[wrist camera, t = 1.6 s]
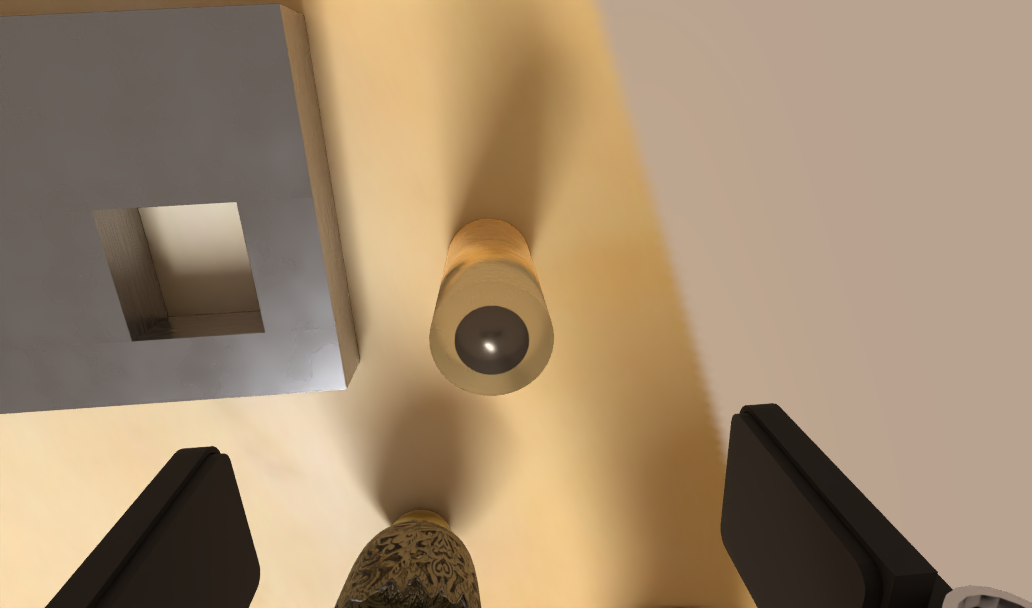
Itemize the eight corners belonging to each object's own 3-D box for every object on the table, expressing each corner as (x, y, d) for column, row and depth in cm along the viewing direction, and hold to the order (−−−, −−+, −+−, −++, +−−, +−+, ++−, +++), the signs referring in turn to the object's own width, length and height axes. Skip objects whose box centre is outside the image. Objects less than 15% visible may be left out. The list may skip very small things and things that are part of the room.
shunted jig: (359, 361, 29) (335, 411, 24) (-41, 389, 28) (-146, 446, 23) (303, 15, 23) (259, -7, 19) (-195, 39, 23) (-372, 22, 18)
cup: (398, 454, 31) (370, 567, 23) (509, 511, 33) (517, 633, 25) (334, 547, 33) (290, 679, 25) (442, 595, 34) (431, 733, 27)
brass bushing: (531, 294, 28) (555, 392, 19) (451, 300, 28) (435, 400, 19) (527, 215, 27) (552, 277, 17) (444, 221, 27) (423, 286, 17)
